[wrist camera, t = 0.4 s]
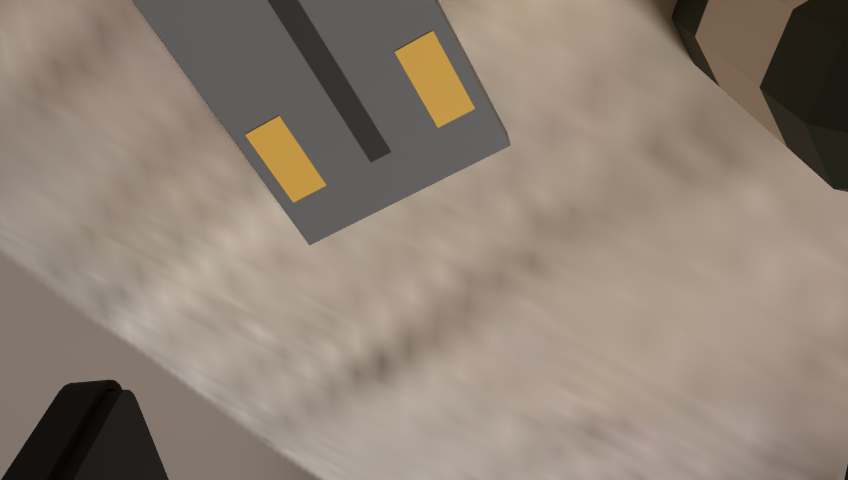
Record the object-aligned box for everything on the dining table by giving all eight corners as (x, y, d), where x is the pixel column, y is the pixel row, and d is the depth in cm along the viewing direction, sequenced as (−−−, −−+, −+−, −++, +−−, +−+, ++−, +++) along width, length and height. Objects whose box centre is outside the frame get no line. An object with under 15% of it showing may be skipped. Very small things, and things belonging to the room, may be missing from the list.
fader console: (43, -150, 37) (24, -149, 35) (271, -317, 34) (262, -324, 32) (313, 229, 48) (309, 245, 46) (507, 132, 44) (510, 145, 43)
